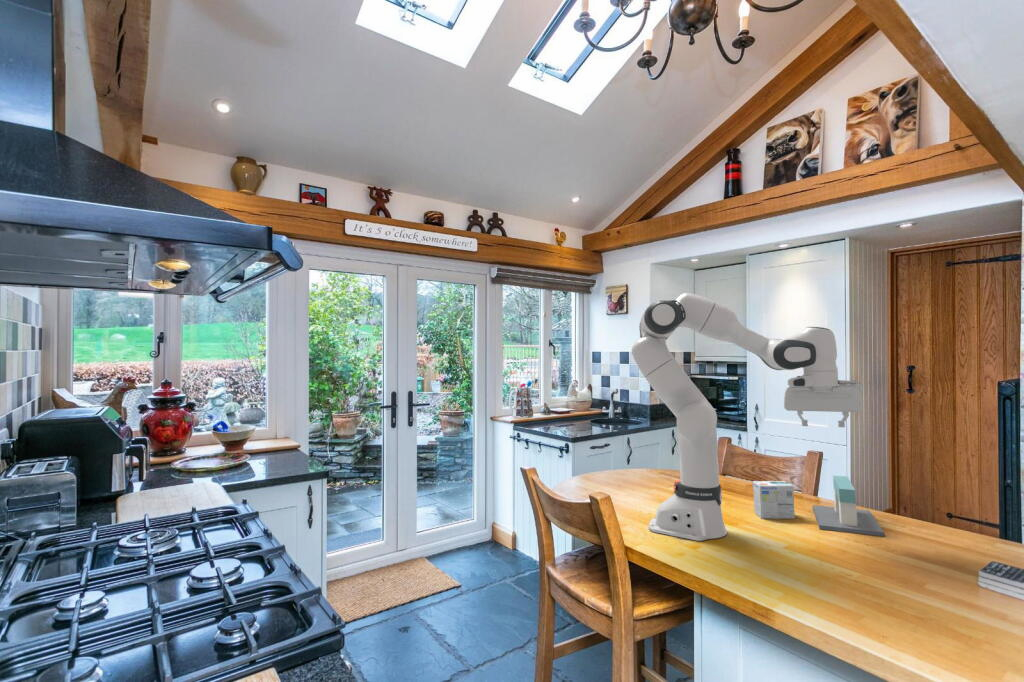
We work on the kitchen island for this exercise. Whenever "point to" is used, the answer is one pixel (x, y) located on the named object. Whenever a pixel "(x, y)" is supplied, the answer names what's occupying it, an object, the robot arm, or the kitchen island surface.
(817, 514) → the board
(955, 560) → the kitchen island surface
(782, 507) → the light bulb box
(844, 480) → the beam
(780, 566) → the kitchen island surface
